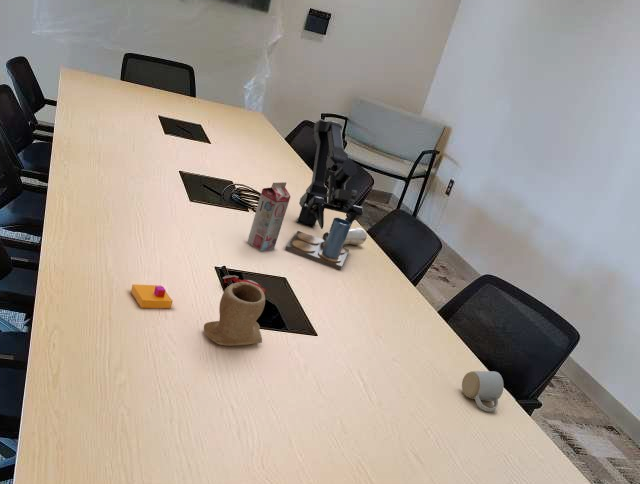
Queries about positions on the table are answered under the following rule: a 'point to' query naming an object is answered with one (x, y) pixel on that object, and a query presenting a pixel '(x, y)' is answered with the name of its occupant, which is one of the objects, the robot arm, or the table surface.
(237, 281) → the tracker holder
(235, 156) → the table surface
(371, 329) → the table surface
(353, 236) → the silver metal bottle
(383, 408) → the table surface
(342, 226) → the tumbler
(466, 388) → the ceramic mug
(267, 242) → the juice carton
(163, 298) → the orange tile with cube
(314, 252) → the coaster board
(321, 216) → the robot arm
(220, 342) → the stone cup
